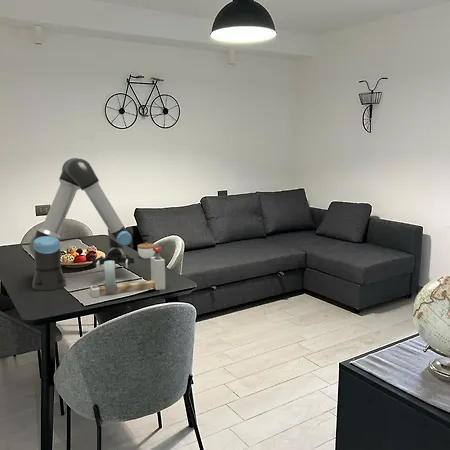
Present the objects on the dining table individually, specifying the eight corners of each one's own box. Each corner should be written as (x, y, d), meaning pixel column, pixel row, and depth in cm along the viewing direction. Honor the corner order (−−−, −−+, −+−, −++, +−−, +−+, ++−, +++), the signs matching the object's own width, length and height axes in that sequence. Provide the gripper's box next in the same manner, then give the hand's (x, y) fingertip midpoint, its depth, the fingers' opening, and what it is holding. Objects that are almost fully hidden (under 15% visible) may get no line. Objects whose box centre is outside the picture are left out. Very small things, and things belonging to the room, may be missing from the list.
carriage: (106, 292, 207) (104, 263, 205) (103, 288, 213) (102, 260, 211) (117, 291, 209) (116, 262, 207) (114, 287, 215) (113, 259, 213)
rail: (99, 295, 208) (99, 289, 207) (97, 293, 211) (97, 286, 211) (154, 288, 218) (154, 282, 217) (152, 286, 222) (152, 280, 221)
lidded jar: (147, 254, 287) (147, 240, 286) (159, 257, 280) (158, 242, 279) (134, 257, 279) (133, 242, 277) (145, 260, 272) (145, 245, 271)
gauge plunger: (154, 272, 217) (154, 249, 215) (152, 270, 220) (152, 247, 218) (163, 271, 218) (162, 248, 216) (160, 269, 222) (160, 246, 220)
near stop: (92, 297, 205) (92, 288, 204) (90, 293, 211) (90, 284, 211) (99, 296, 206) (99, 287, 205) (97, 292, 212) (96, 283, 212)
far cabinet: (156, 290, 216) (155, 261, 213) (151, 284, 224) (150, 256, 221) (165, 288, 217) (164, 260, 215) (160, 283, 226) (159, 256, 223)
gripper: (139, 261, 243) (138, 272, 222) (91, 263, 239) (85, 275, 218) (139, 247, 241) (138, 257, 221) (90, 249, 237) (84, 259, 217)
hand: (111, 266), depth 219 cm, fingers open, 13 cm apart
